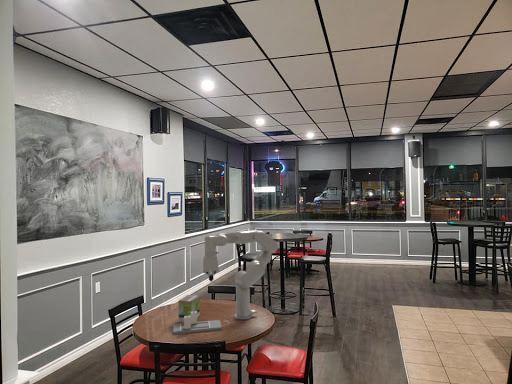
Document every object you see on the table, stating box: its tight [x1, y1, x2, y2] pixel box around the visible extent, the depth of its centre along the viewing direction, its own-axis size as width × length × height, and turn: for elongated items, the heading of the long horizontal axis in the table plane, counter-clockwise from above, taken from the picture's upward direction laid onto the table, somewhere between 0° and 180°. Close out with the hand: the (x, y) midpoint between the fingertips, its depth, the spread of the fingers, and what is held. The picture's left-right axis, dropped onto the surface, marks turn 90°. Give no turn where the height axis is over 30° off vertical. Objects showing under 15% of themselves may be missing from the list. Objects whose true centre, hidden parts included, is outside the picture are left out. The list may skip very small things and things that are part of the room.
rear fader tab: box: [191, 311, 198, 324], centre depth 229 cm, size 4×3×7 cm
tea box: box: [178, 294, 201, 323], centre depth 242 cm, size 15×10×15 cm, turn 168°
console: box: [172, 319, 223, 335], centre depth 225 cm, size 30×14×2 cm, turn 101°
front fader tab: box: [184, 315, 191, 329], centre depth 220 cm, size 4×3×7 cm
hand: (211, 281), depth 237 cm, fingers closed
